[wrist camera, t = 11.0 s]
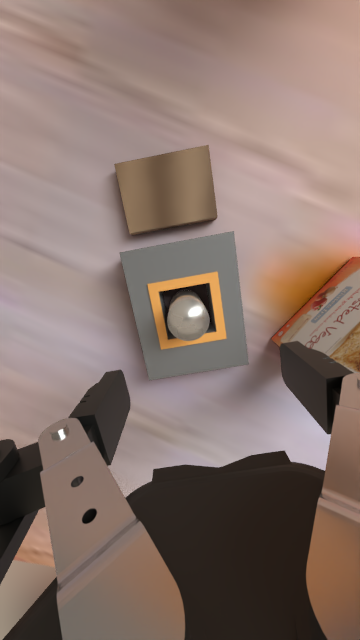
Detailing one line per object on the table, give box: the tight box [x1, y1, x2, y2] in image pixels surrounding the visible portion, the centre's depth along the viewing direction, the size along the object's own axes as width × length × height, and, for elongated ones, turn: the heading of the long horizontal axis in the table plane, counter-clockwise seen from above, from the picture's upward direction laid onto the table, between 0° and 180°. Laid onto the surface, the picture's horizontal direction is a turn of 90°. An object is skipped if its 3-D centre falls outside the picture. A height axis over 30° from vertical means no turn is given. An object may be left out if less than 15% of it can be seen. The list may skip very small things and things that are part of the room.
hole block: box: [120, 231, 249, 380], centre depth 27 cm, size 12×15×4 cm
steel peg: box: [167, 290, 210, 341], centre depth 26 cm, size 4×4×8 cm
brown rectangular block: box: [114, 145, 217, 235], centre depth 26 cm, size 10×7×2 cm
